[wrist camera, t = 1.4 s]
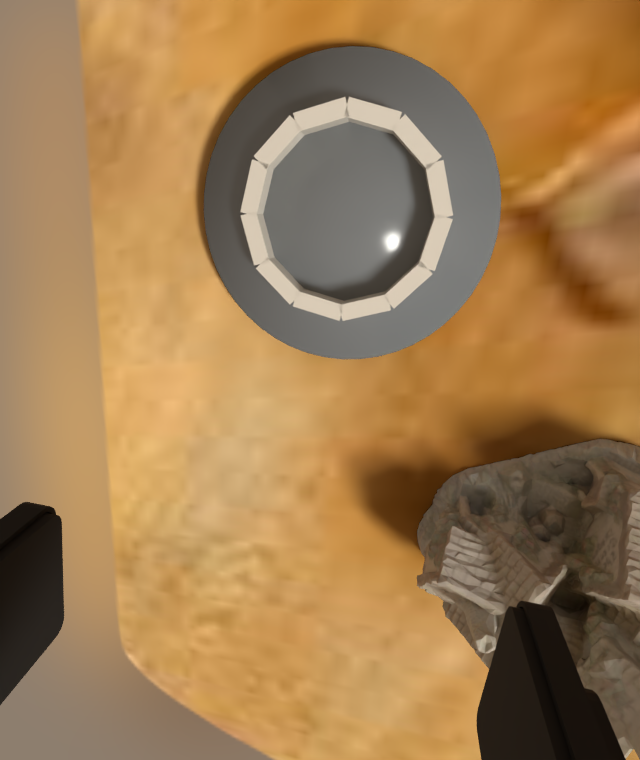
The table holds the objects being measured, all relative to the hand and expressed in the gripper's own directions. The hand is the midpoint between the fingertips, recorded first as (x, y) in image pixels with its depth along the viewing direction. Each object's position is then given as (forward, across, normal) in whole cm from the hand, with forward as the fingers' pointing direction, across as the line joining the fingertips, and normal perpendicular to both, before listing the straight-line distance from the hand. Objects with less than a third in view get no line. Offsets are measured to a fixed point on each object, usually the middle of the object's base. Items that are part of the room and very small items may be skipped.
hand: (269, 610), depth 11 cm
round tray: (+26, +2, -8) cm, 27 cm away
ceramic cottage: (+26, -15, +11) cm, 32 cm away
